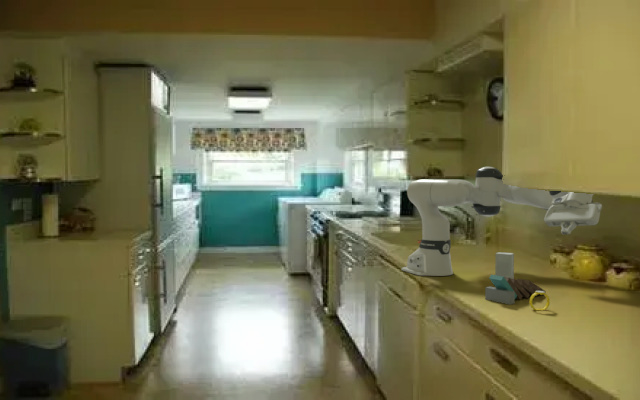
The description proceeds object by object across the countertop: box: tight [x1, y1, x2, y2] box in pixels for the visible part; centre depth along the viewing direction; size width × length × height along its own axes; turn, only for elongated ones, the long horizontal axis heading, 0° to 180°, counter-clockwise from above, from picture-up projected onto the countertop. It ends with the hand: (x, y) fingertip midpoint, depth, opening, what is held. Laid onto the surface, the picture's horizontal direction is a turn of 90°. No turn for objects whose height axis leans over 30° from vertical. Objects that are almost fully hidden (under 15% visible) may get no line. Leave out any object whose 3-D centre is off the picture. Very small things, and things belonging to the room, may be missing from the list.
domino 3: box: [510, 278, 530, 299], centre depth 212 cm, size 2×5×10 cm
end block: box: [484, 286, 516, 305], centre depth 207 cm, size 10×2×4 cm, turn 35°
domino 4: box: [515, 278, 539, 298], centre depth 214 cm, size 2×5×10 cm
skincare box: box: [494, 252, 515, 279], centre depth 236 cm, size 6×4×12 cm
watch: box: [529, 291, 551, 311], centre depth 195 cm, size 6×3×6 cm, turn 96°
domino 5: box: [516, 278, 546, 296], centre depth 216 cm, size 2×5×10 cm
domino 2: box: [497, 275, 523, 301], centre depth 210 cm, size 2×5×10 cm
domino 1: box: [488, 274, 517, 300], centre depth 208 cm, size 2×5×10 cm
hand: (565, 233), depth 228 cm, fingers closed
